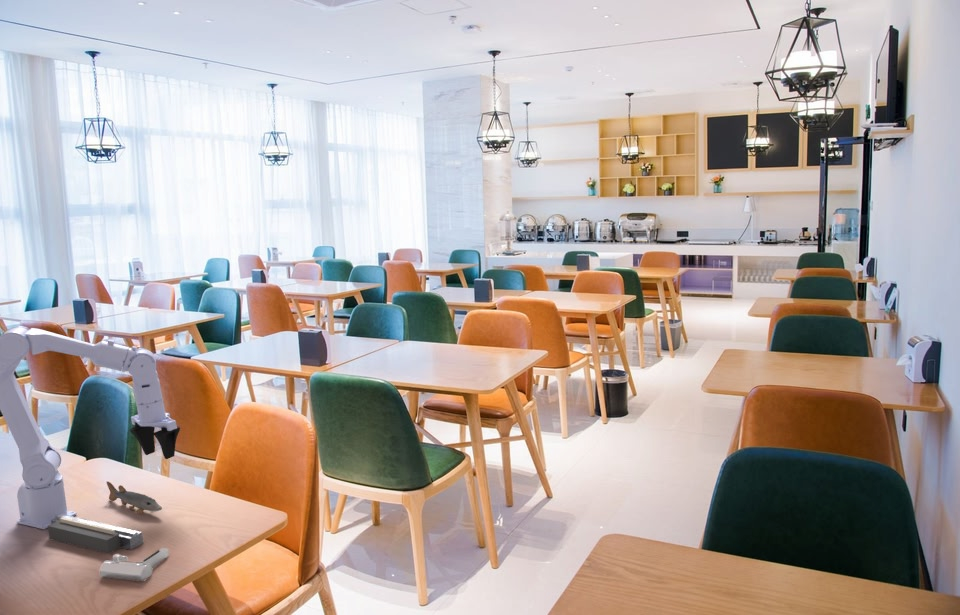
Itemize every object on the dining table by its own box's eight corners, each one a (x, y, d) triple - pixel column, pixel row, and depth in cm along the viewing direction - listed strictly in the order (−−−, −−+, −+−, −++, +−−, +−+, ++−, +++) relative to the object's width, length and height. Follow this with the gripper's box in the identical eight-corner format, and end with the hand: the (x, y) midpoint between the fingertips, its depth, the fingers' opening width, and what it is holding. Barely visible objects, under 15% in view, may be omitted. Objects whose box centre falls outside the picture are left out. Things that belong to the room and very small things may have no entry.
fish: (153, 523, 155) (150, 501, 154) (99, 503, 166) (97, 484, 165) (170, 515, 159) (168, 494, 158) (117, 496, 170) (115, 477, 169)
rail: (52, 530, 152) (50, 517, 152) (65, 524, 155) (63, 512, 155) (131, 550, 143) (129, 536, 142) (143, 543, 145) (141, 529, 145)
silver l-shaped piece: (100, 580, 132) (141, 585, 130) (98, 557, 132) (139, 562, 129) (137, 556, 142) (176, 560, 140) (135, 535, 141) (174, 538, 139)
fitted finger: (49, 539, 149) (47, 522, 148) (61, 533, 151) (59, 516, 150) (108, 553, 141) (106, 536, 141) (120, 547, 144) (118, 530, 143)
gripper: (183, 397, 163) (193, 452, 165) (146, 393, 170) (156, 445, 173) (156, 407, 157) (167, 464, 159) (118, 402, 164) (129, 456, 167)
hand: (159, 455), depth 166 cm, fingers open, 7 cm apart
